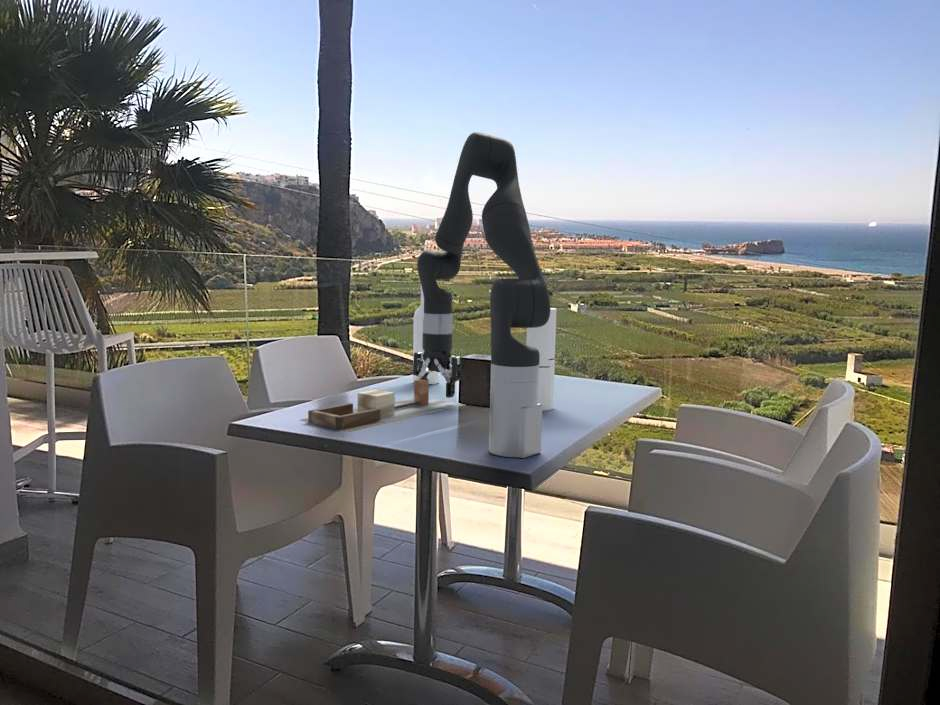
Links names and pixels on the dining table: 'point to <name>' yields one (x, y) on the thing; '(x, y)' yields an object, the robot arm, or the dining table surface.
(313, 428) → the dining table surface
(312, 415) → the lane rack
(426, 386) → the rod-linked blocks
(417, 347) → the bottle
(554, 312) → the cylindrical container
